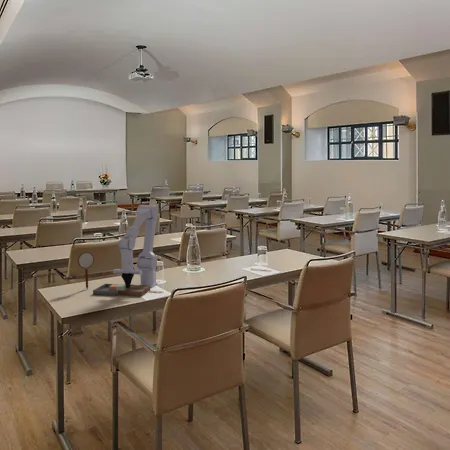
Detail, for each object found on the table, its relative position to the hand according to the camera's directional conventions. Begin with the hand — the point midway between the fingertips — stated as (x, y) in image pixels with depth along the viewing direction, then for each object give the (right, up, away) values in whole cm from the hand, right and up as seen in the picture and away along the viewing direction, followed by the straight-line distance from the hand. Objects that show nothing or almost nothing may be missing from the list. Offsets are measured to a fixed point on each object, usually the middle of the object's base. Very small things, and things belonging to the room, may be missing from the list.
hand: (128, 287), depth 249 cm
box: (-10, -3, +6) cm, 12 cm away
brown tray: (+3, -3, +3) cm, 5 cm away
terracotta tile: (-9, 0, +8) cm, 12 cm away
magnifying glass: (-24, -2, +11) cm, 26 cm away
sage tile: (-3, -1, +1) cm, 3 cm away
